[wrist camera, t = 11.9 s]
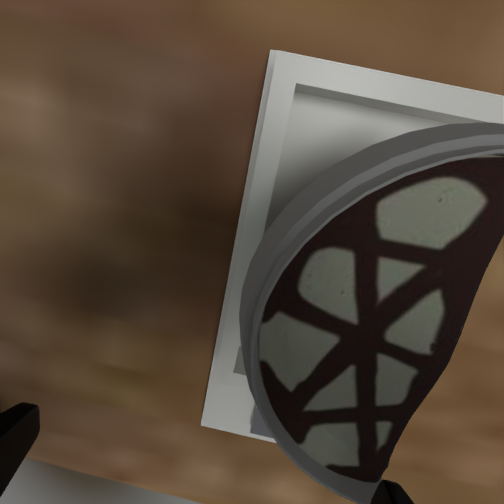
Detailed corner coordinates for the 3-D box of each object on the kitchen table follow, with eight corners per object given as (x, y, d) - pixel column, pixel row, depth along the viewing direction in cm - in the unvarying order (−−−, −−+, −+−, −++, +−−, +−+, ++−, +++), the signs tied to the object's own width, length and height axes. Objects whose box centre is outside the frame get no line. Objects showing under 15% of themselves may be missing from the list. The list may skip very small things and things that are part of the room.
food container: (286, 104, 16) (289, 55, 6) (411, 131, 15) (606, 123, 6) (239, 317, 20) (198, 479, 11) (336, 340, 20) (382, 524, 10)
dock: (203, 414, 24) (191, 457, 21) (271, 54, 16) (267, 33, 13) (360, 450, 24) (372, 500, 21) (513, 103, 16) (574, 94, 12)
